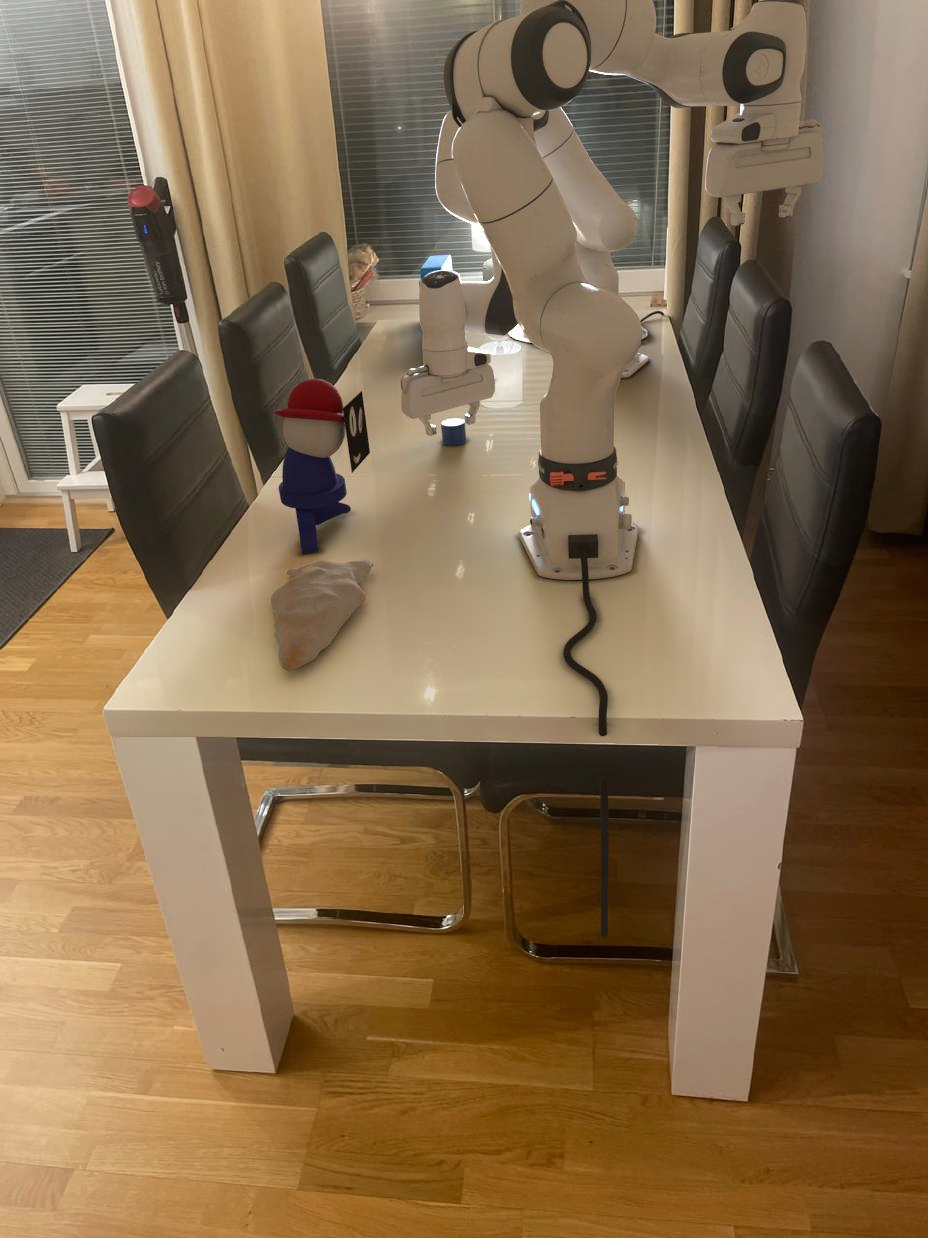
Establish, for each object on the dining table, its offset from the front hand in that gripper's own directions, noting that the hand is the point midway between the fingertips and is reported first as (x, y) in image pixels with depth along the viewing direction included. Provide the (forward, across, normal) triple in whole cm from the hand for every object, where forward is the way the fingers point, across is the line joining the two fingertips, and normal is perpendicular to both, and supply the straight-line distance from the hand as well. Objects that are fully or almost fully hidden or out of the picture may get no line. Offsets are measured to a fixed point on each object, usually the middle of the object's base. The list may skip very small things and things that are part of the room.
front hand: (761, 220), depth 155 cm
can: (+41, +41, -40) cm, 70 cm away
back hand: (+38, +41, -40) cm, 69 cm away
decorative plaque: (+41, -21, -104) cm, 113 cm away
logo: (+41, +11, -119) cm, 126 cm away
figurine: (+41, +76, -12) cm, 87 cm away
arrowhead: (+41, +86, +16) cm, 97 cm away
